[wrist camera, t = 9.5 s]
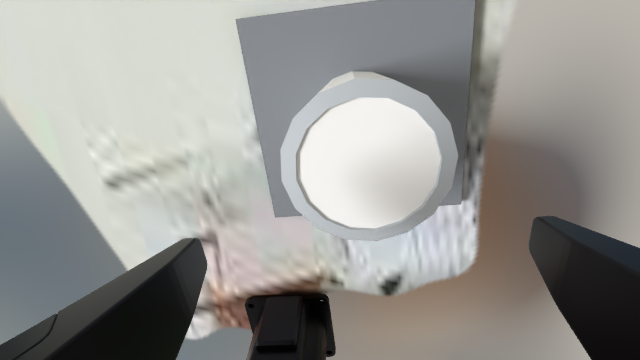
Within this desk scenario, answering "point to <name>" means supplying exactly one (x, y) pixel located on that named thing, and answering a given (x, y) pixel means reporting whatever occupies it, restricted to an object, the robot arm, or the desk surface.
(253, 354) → the robot arm
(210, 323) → the desk surface
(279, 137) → the coaster mat
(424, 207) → the white faceted cylinder
